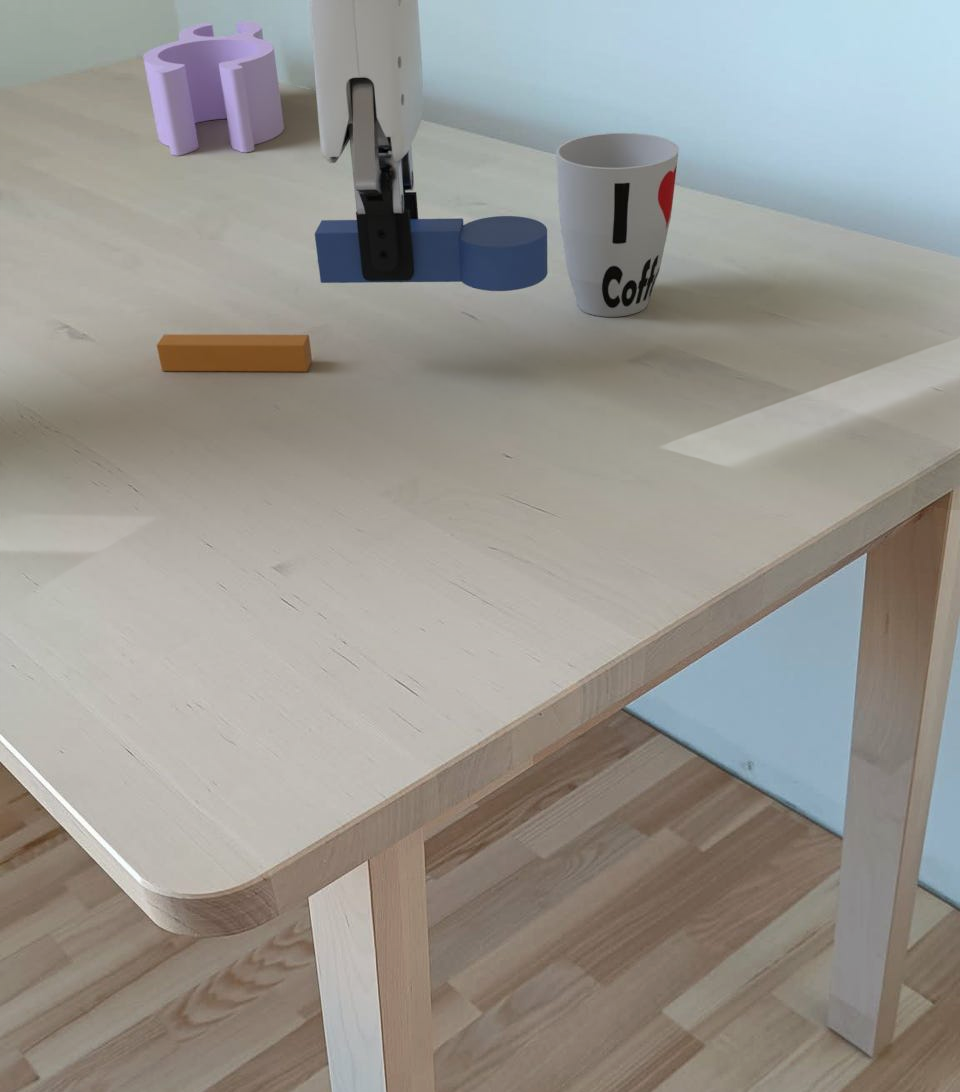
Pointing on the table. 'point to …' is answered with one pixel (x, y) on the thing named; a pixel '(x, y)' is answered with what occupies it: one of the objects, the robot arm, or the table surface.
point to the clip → (215, 86)
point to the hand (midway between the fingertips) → (392, 267)
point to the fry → (234, 352)
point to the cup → (615, 217)
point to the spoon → (448, 252)
